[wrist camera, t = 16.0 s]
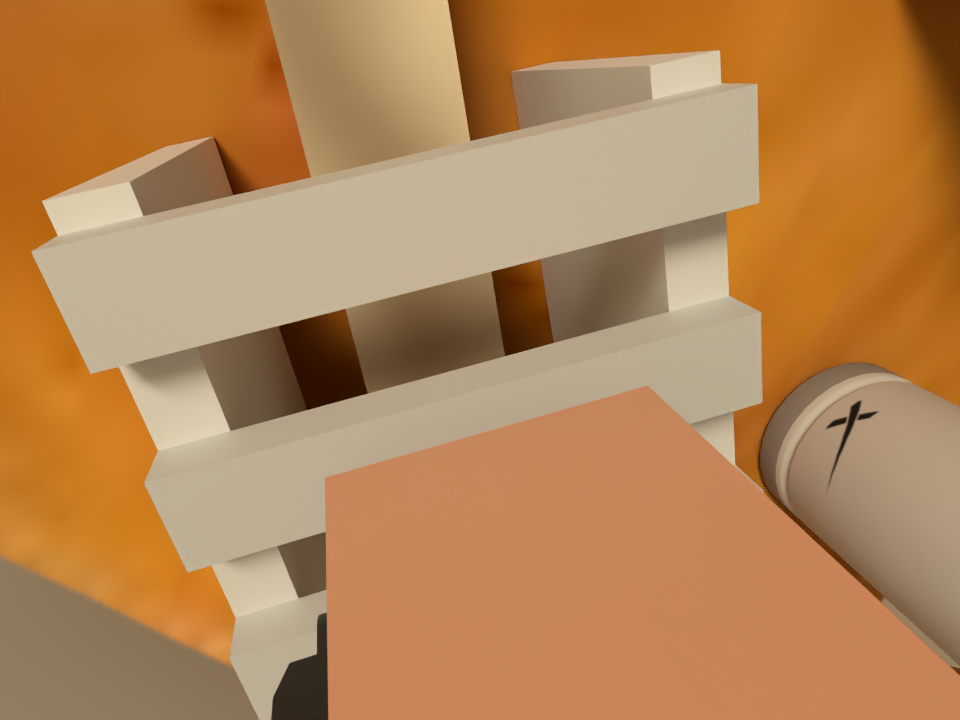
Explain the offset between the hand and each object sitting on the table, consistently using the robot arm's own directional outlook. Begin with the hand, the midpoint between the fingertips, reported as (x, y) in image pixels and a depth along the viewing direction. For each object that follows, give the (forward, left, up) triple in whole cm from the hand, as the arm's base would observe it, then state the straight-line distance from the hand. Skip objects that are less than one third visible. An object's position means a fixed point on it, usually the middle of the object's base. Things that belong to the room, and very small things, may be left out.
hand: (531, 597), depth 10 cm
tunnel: (0, 0, -11) cm, 11 cm away
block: (0, 0, -1) cm, 1 cm away
